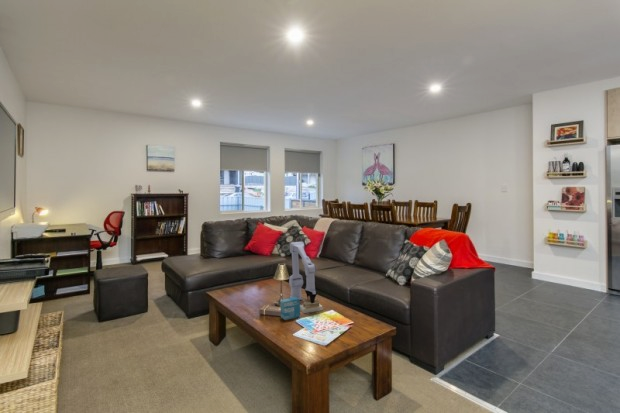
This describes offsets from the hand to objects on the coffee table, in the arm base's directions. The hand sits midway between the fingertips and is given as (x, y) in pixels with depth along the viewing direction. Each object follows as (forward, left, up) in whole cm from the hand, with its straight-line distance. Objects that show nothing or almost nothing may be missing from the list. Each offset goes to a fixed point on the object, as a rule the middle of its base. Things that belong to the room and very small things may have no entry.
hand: (310, 301), depth 217 cm
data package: (+8, -17, -6) cm, 20 cm away
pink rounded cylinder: (0, 0, +1) cm, 1 cm away
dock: (0, 0, -6) cm, 6 cm away
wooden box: (0, 0, -3) cm, 3 cm away
